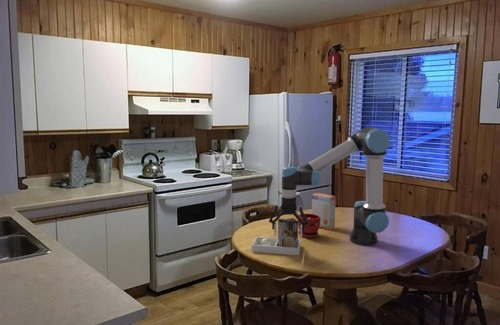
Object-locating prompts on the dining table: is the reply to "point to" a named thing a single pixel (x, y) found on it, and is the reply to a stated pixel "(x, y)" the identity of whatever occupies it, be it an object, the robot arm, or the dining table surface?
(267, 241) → the egg
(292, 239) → the coffee box
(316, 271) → the dining table surface
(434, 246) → the dining table surface
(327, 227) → the cracker box
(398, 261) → the dining table surface
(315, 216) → the plant pot
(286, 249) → the divided tray
